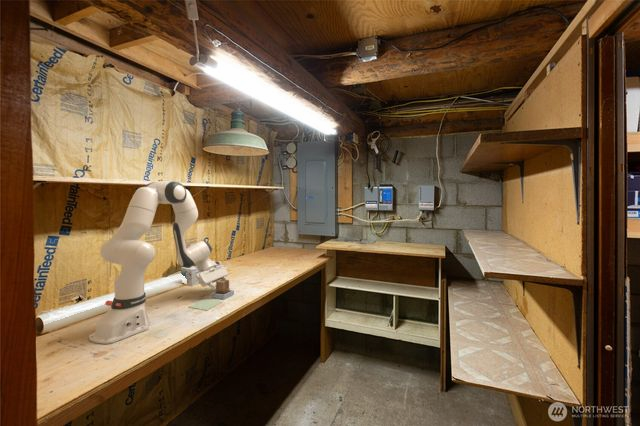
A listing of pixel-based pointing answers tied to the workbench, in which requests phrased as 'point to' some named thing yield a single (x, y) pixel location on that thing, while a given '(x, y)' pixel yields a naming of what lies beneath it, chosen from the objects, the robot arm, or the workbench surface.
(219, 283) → the walnut block
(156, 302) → the workbench surface
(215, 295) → the gray square frame
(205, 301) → the rubber mat
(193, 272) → the light bulb box
